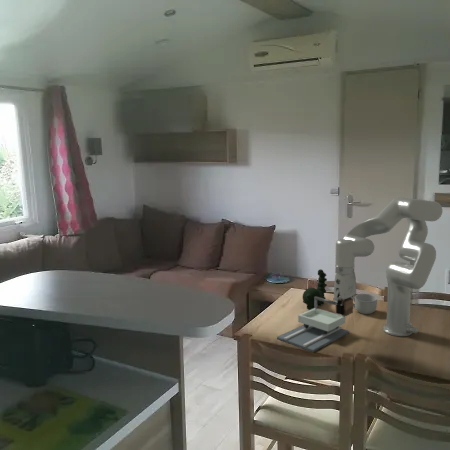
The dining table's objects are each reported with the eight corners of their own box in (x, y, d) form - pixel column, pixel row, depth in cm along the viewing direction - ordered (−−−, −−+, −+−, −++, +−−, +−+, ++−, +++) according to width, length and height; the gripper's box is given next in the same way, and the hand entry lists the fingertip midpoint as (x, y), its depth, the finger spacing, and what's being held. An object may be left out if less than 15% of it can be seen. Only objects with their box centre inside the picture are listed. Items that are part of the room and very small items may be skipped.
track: (349, 332, 212) (349, 329, 212) (313, 352, 194) (313, 348, 193) (313, 321, 226) (313, 318, 225) (277, 339, 207) (277, 335, 207)
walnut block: (352, 312, 196) (353, 298, 195) (346, 316, 193) (346, 302, 192) (342, 309, 200) (342, 296, 199) (335, 313, 197) (335, 299, 196)
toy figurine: (313, 301, 259) (297, 311, 238) (315, 266, 258) (298, 274, 236) (330, 303, 255) (315, 314, 233) (332, 268, 253) (317, 276, 231)
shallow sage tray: (345, 328, 212) (345, 303, 210) (328, 337, 203) (328, 311, 201) (315, 319, 224) (315, 295, 222) (298, 327, 215) (298, 303, 213)
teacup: (379, 310, 238) (379, 295, 237) (373, 317, 229) (373, 301, 228) (351, 306, 246) (352, 291, 244) (345, 312, 237) (345, 297, 235)
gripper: (341, 276, 185) (340, 320, 188) (364, 266, 196) (363, 308, 200) (324, 272, 190) (324, 315, 193) (348, 263, 202) (347, 304, 205)
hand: (344, 311), depth 196 cm, fingers closed on walnut block, 5 cm apart
